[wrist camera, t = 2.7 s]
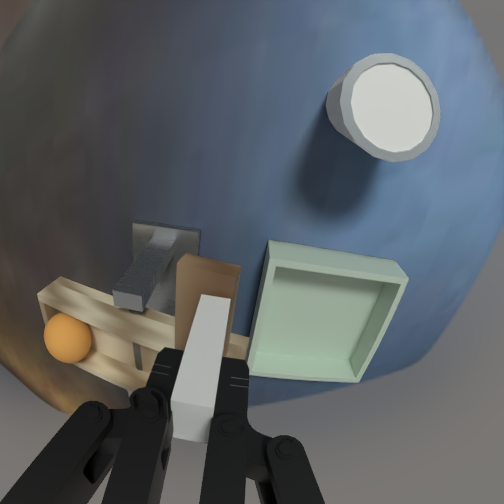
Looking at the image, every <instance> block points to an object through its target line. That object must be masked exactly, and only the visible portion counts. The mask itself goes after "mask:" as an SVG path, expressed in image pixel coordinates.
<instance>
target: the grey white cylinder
mask: <svg viewBox="0 0 504 504" xmlns="http://www.w3.org/2000/svg"><path fill="white" fill-rule="evenodd" d="M325 106H326V110H327V114H328V119H329V120H330V122H331V123H332V125H333V126H334V128H335V129H336V130H337V131H338V132H339V133H341V134H342V135H344V136H345V137H346V138H348V139H349V140H351V141H352V142H354V143H355V144H356V145H358V146H359V147H361V148H362V149H363V150H365V151H366V152H368V153H369V154H370V155H372V156H373V157H376V158H379V159H383V160H386V161H390V162H399V161H406V160H412V159H413V158H415V157H416V156H418V155H419V154H421V153H422V152H424V151H425V150H427V149H428V147H429V146H430V144H431V142H432V141H433V139H434V138H435V136H436V135H437V132H438V127H439V121H440V116H441V112H440V106H439V100H438V94H437V92H436V90H435V88H434V86H433V85H432V83H431V81H430V79H429V77H428V76H427V74H426V73H425V72H423V71H422V70H421V69H420V68H419V67H418V66H417V65H416V64H415V63H413V62H412V61H411V60H408V59H406V58H403V57H401V56H398V55H396V54H393V53H384V54H371V55H370V56H368V57H366V58H364V59H362V60H360V61H359V62H357V63H355V64H354V65H353V66H352V67H351V68H350V69H348V70H347V71H346V72H345V73H344V74H343V75H342V76H341V77H340V78H339V79H338V80H336V81H335V83H334V84H333V86H332V87H331V88H330V90H329V91H328V94H327V100H326V105H325Z"/></svg>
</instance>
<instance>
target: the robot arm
mask: <svg viewBox="0 0 504 504" xmlns="http://www.w3.org/2000/svg"><path fill="white" fill-rule="evenodd" d="M230 301H231V299H228V298H222V297H216V296H210V295H204V294H201V298H200V301H199V304H198V307H197V311H196V314H195V317H194V320H193V324H192V327H191V330H190V334H189V337H188V341H187V344H186V347H185V351H183V350H178V349H173V348H168V347H164V348H163V349H162V350H161V351H160V352H159V353H158V354H157V356H156V359H155V362H154V365H153V367H152V370H151V372H150V375H149V378H148V380H147V383H146V386H145V387H142V388H138V389H136V390H135V391H133V392H132V394H131V395H130V397H129V398H130V402H131V407H130V408H127V409H108V407H106V406H105V405H104V404H103V403H100V402H98V401H88V402H85V403H83V404H82V405H81V406H79V407H78V409H77V410H76V411H75V412H74V413H73V414H72V416H71V417H70V418H69V419H68V420H67V422H66V423H65V424H64V425H63V426H62V427H61V429H60V430H59V431H58V433H56V434H55V436H54V437H53V438H52V439H51V441H50V442H49V443H48V444H47V445H46V446H45V448H44V449H43V450H42V451H41V453H40V454H39V455H38V456H37V457H36V458H35V460H34V461H33V462H32V463H31V465H30V466H29V467H28V468H27V470H26V471H25V472H24V473H23V474H22V476H21V477H20V478H19V479H18V481H17V482H16V483H15V484H14V486H13V487H12V488H11V489H10V491H9V492H8V493H7V494H6V496H5V497H4V498H3V499H2V501H1V502H0V504H87V503H88V502H89V500H90V499H91V497H92V496H93V494H94V493H95V492H96V490H97V489H98V487H99V486H100V484H101V483H102V481H103V480H104V478H105V477H106V475H107V474H108V472H109V471H110V469H111V468H112V466H113V468H112V471H111V474H110V477H109V481H108V484H107V487H106V490H105V493H104V497H103V500H102V503H101V504H159V503H160V498H161V493H162V489H163V484H164V479H165V474H166V470H167V465H168V460H169V456H170V452H171V439H172V435H173V437H174V438H179V439H184V440H189V441H195V442H200V443H207V444H208V446H207V453H206V460H205V467H204V474H203V481H202V488H201V495H200V502H199V504H244V502H245V484H246V477H247V478H250V479H252V480H255V484H256V488H257V491H258V495H259V499H260V503H261V504H325V502H324V500H323V497H322V495H321V492H320V489H319V487H318V484H317V482H316V479H315V476H314V474H313V471H312V469H311V466H310V463H309V460H308V458H307V455H306V452H305V450H304V447H303V446H302V444H301V442H300V441H298V440H297V439H296V438H294V437H291V436H288V435H280V436H277V437H274V438H271V437H268V436H265V435H263V434H261V433H259V432H257V431H255V430H254V429H253V428H252V427H251V425H250V424H249V422H248V419H247V408H248V387H249V367H248V365H247V363H246V361H245V360H243V359H236V358H229V357H222V355H223V349H224V342H225V335H226V328H227V321H228V314H229V308H230Z"/></svg>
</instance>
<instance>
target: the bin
mask: <svg viewBox="0 0 504 504" xmlns="http://www.w3.org/2000/svg"><path fill="white" fill-rule="evenodd" d="M408 280H409V278H408V277H407V276H406V274H405V273H404V272H403V270H402V269H401V268H400V267H399V265H398V264H397V263H396V262H395V260H389V259H384V258H378V257H372V256H366V255H360V254H354V253H348V252H342V251H336V250H330V249H324V248H318V247H311V246H305V245H299V244H293V243H287V242H280V241H274V240H268V245H267V250H266V255H265V260H264V265H263V271H262V276H261V281H260V286H259V291H258V295H257V300H256V305H255V310H254V315H253V320H252V325H251V330H250V335H249V338H250V339H249V344H248V349H247V353H246V363H247V365H248V367H249V375H255V376H264V377H274V378H284V379H297V380H311V381H330V382H359V381H360V379H361V377H362V375H363V374H364V372H365V370H366V368H367V366H368V365H369V363H370V361H371V359H372V357H373V355H374V353H375V351H376V349H377V347H378V346H379V344H380V342H381V340H382V338H383V336H384V334H385V332H386V329H387V327H388V325H389V323H390V321H391V319H392V317H393V315H394V312H395V310H396V308H397V306H398V304H399V301H400V299H401V297H402V294H403V292H404V290H405V287H406V285H407V283H408Z"/></svg>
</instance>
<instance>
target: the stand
mask: <svg viewBox="0 0 504 504" xmlns="http://www.w3.org/2000/svg"><path fill="white" fill-rule="evenodd" d="M200 237H201V229H195V228H189V227H182V226H175V225H168V224H161V223H154V222H147V221H140V220H135V221H134V222H133V263H132V265H131V266H130V267H129V269H128V270H127V271H126V273H125V274H124V275H123V277H122V278H121V279H120V281H119V282H118V283H117V285H116V286H115V288H114V289H113V300H114V306H117V307H122V308H126V309H131V310H136V311H141V312H143V310H144V308H145V307H146V308H149V309H152V310H155V311H158V312H161V313H165V314H168V315H171V316H174V317H175V300H176V272H177V262H178V261H179V260H180V259H181V258H182V257H183V256H184V255H185V254H186V253H189V254H193V255H197V256H199V248H200ZM131 394H132V391H129V390H128V395H129V397H130V395H131Z"/></svg>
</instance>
